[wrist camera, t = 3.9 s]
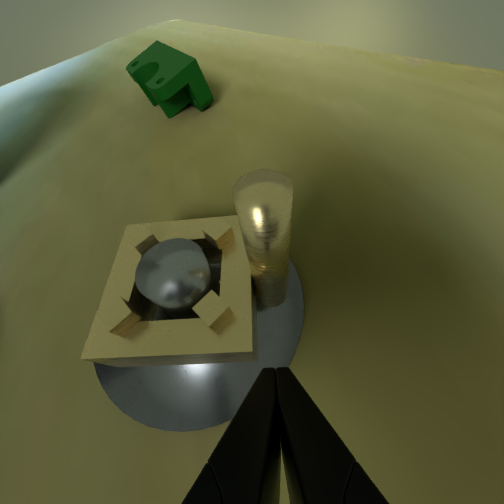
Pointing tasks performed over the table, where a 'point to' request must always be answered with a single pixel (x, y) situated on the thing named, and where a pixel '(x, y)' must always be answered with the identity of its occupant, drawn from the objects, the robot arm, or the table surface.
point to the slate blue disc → (197, 375)
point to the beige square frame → (210, 306)
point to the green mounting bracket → (170, 79)
